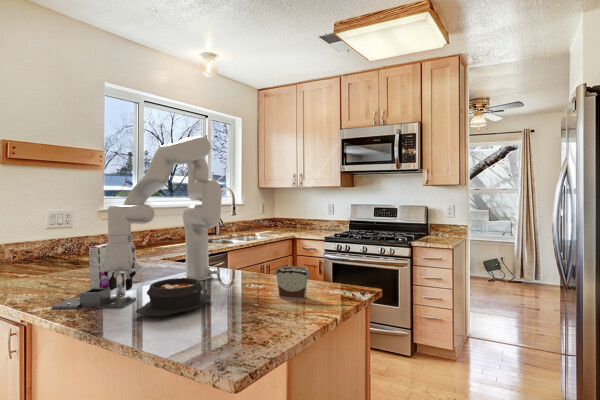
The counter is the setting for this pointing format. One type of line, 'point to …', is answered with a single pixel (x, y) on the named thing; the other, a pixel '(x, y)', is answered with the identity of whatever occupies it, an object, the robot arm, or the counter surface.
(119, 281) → the pin
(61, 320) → the counter surface
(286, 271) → the food container
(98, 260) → the candy bar box
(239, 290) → the counter surface
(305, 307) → the counter surface
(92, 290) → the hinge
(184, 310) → the casserole
